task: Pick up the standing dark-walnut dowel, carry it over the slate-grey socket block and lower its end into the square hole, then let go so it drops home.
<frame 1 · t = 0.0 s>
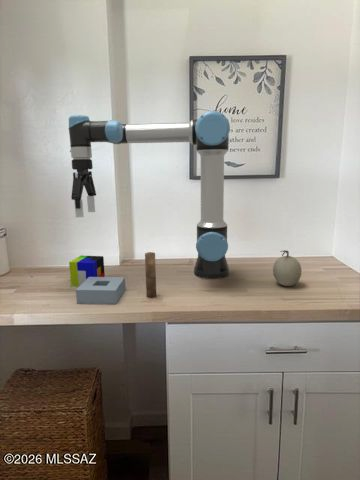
hand: (85, 214, 137), 28 cm above the counter, fingers open, 13 cm apart
fruit: (285, 285, 137), on the counter
socket block: (102, 296, 128), on the counter
puzzle toy: (88, 283, 143), on the counter
dowel: (151, 295, 128), on the counter
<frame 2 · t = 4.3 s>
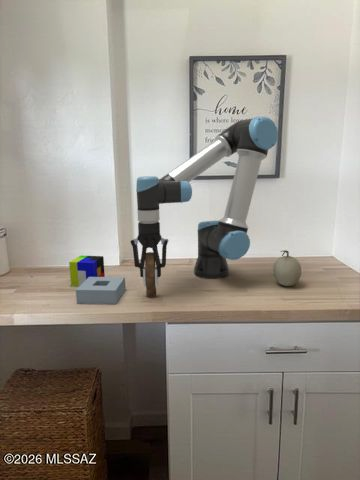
hand: (151, 285, 127), 4 cm above the counter, fingers closed on dowel, 3 cm apart
dowel: (151, 295, 128), on the counter, touching gripper
everything else where it was.
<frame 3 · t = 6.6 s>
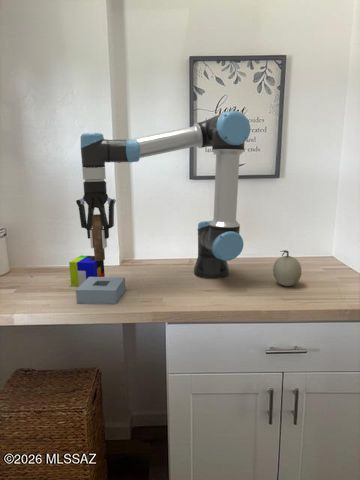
hand: (99, 247, 124), 18 cm above the counter, fingers closed on dowel, 3 cm apart
dowel: (99, 259, 125), point 14 cm above the counter, touching gripper
everything else where it was.
when the fingers open (7 cm above the counter, at t = 9.2 s): dowel drops 2 cm, resting in socket block.
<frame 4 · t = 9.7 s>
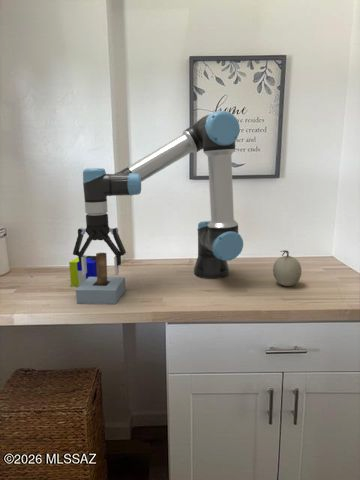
hand: (100, 273, 126), 9 cm above the counter, fingers open, 11 cm apart
dowel: (102, 296, 128), resting in socket block
everything else where it was.
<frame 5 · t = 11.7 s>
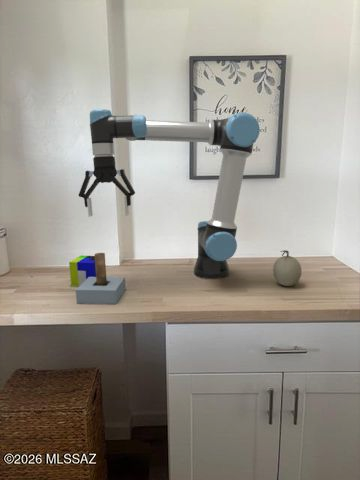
hand: (108, 215, 129), 29 cm above the counter, fingers open, 13 cm apart
nothing on the counter moved.
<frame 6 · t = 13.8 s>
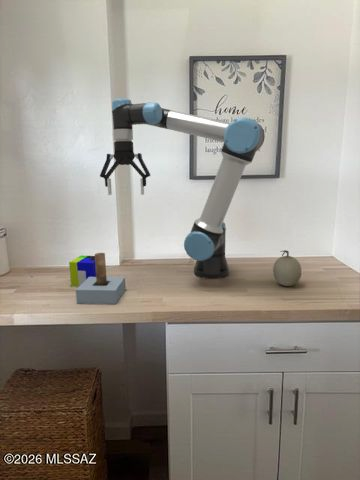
hand: (126, 194, 144), 35 cm above the counter, fingers open, 13 cm apart
nothing on the counter moved.
at the end: dowel 0.1 cm off-centre on the socket block, point 0.0 cm above the socket block's base; dowel tilted 0°; the gripper is holding nothing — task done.
